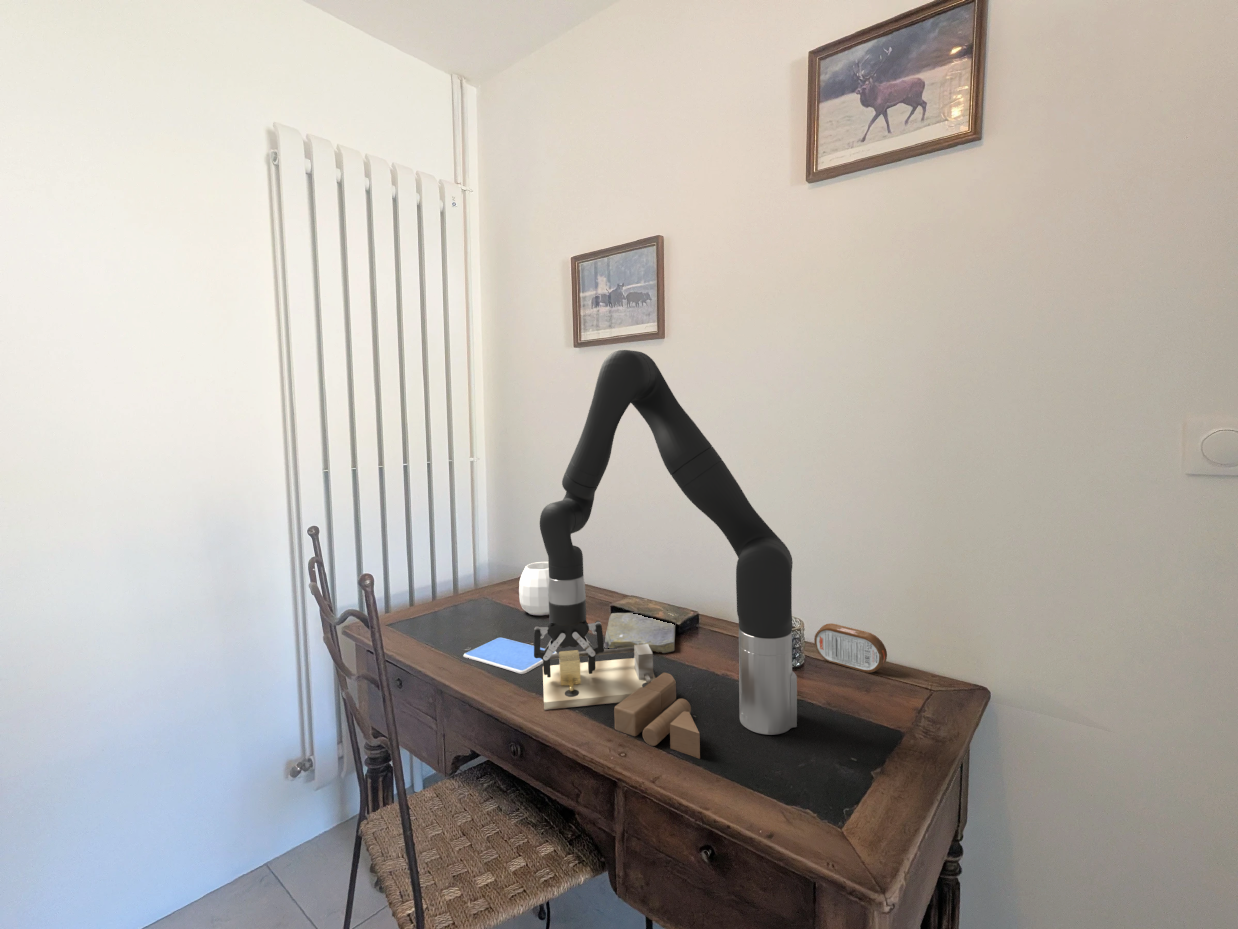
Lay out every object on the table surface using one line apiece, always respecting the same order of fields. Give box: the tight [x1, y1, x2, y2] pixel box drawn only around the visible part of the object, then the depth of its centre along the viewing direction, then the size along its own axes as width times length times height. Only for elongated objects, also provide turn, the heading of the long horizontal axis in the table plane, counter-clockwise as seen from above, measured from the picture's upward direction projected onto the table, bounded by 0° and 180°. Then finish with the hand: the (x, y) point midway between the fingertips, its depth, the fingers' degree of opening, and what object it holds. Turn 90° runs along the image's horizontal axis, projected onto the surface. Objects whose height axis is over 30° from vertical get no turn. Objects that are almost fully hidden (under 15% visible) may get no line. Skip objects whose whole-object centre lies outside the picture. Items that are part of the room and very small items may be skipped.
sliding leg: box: [558, 649, 581, 692], centre depth 116 cm, size 4×8×5 cm, turn 8°
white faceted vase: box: [518, 561, 549, 616], centre depth 164 cm, size 13×13×14 cm
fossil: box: [603, 612, 676, 654], centre depth 143 cm, size 20×5×17 cm
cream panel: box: [542, 644, 656, 711], centre depth 118 cm, size 23×16×7 cm
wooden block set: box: [613, 672, 701, 760], centre depth 104 cm, size 17×6×18 cm
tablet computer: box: [463, 637, 558, 675], centre depth 135 cm, size 19×13×1 cm, turn 57°
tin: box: [814, 623, 888, 673], centre depth 124 cm, size 15×3×8 cm, turn 47°
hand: (569, 674), depth 118 cm, fingers open, 8 cm apart
